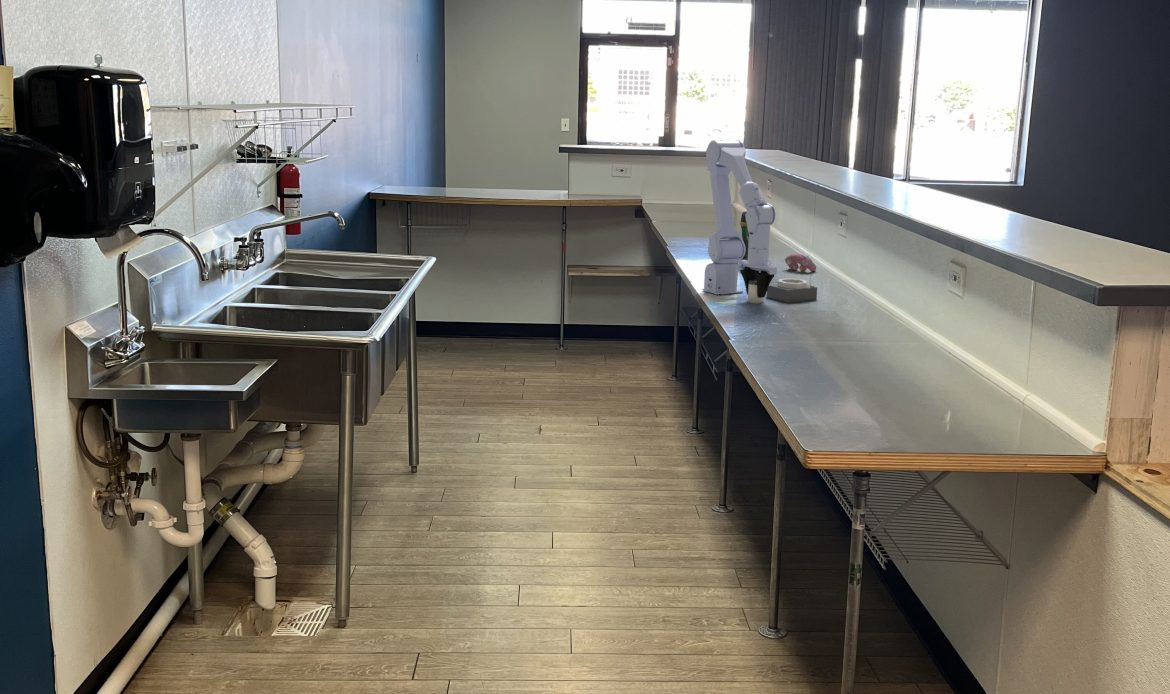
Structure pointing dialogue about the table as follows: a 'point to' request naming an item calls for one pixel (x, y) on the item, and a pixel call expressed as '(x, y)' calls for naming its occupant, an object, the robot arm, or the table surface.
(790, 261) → the pink animal figurine
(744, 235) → the coffee jar
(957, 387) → the table surface
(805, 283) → the grey square base
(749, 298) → the white lens
